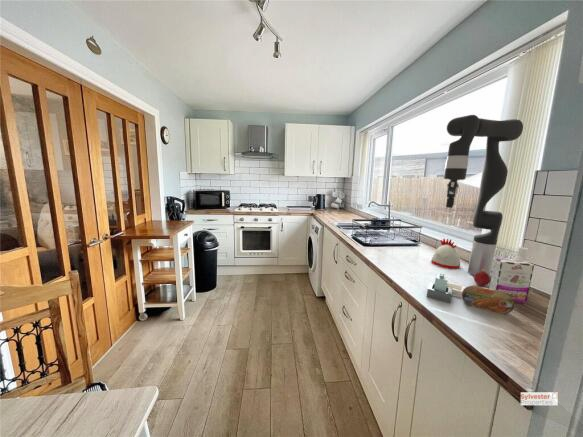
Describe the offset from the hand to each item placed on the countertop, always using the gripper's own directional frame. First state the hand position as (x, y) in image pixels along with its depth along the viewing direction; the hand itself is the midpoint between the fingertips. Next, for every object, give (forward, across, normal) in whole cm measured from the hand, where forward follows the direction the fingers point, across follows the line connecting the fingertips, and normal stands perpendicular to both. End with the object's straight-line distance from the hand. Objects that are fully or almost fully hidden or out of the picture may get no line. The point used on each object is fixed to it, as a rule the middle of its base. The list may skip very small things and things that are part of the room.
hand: (449, 206), depth 100 cm
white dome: (+36, +38, -1) cm, 53 cm away
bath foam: (+36, +18, -28) cm, 49 cm away
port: (+36, -12, -2) cm, 38 cm away
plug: (+36, -12, -2) cm, 37 cm away
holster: (+36, -3, -6) cm, 37 cm away
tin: (+36, -11, -16) cm, 41 cm away
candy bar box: (+36, +6, -24) cm, 44 cm away
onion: (+36, +14, -16) cm, 42 cm away
